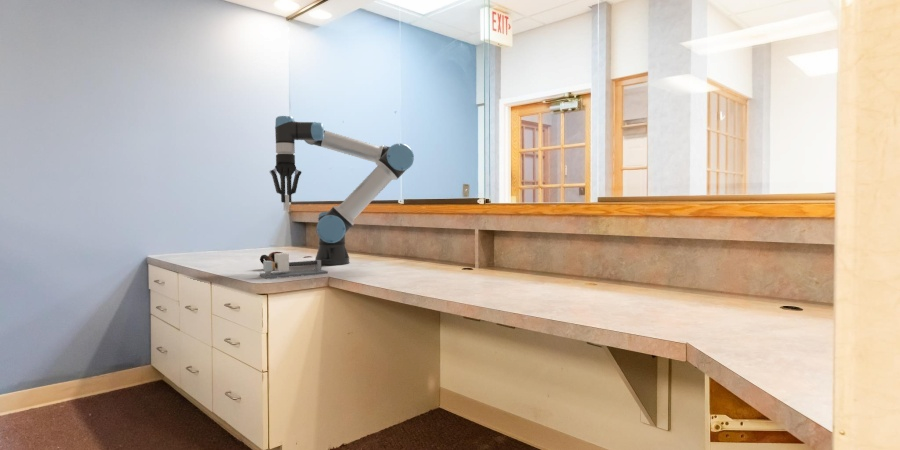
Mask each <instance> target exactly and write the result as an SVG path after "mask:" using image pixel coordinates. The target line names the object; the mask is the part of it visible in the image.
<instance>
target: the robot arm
mask: <svg viewBox="0 0 900 450" xmlns="http://www.w3.org/2000/svg"><path fill="white" fill-rule="evenodd" d="M324 128H325V127H324V124H323V123H322V122H317V121H314V122H313V121H312V122H311V121H310V122H309V121H295V118H294V117H293V116H291V115H289V116H287V115H279V116H277V117H275V126H274V129H275V130H274V131H275V133H274V134H275V153H276V155H275V166H274V168H273V169H270V170H269V174H270V175H271V177H272V180H273V185H274V189H275V191H276V193H277V194H279V195H280V199H281V200H280V201H281V202H280V203H283V211H287V212H288V211H290V203H292V195H294V194H296V192H297V188H298V183H299V179H300V176H301V174H302V173H303V172H302V171H301V170H298V169H297V166H296V155H295V153H296V152H295V151H296V149H295V148H296V147H295V144H296V143H295V141H304V142H305V144H308V145H311V146H313V145H314V146H317V147H322V148H324V149H327V150H332V151H334V152H338V153H341V154H344V155H348V156H351V157H355V158H359V159H362V160H365V161H369V162H372V163H375V165H376V167H375V168H374V169H373V170H372V171H371V172H370V173H369V174H368V175H367V176H366V177H365V179H364V180H362V182H361V183H360V184H358V186H357V187H356V188H355V189H354V190H353V191H352V192H351V193H350V194H349V195H347V197H346V198H345V199H344V200H343V201H342V202H341V203H340V204H339V205H336V206H335V205H334V206H333V207H331V208H330V210H329V211H323V212H319V214H318V218H317V219H318V222H317V224H316V234H317V236H318V249H317V253H316V255H315V259H314V261H315V260H321V266H334V265H335V266H336V265H337V266H338V265H339V266H340V265H346V264H349V263H350V256H349V253H348V251H347V250H348V249H347V247H346V234H347V233H348V232H349V231H350V229H352V228H353V226H354V225H355V223H354V222H355V221H354V220H355V219H357V217H358V216H359V215H360V214H361V213H362V212H363V211H364V210H365V209H366V208H367V207H368V205H370V204H371V202H373V201H374V199H375V198H376V197H377V196H378V195H379V194H380V193H381V192H382V191H383V190H384V189H385V188H386V187H387V185H389V183H391V181H393V180H394V181H395V180H398V179H400V177H401V176H402V175H403V174H404V173H405V172H406V171H407V170H409V169H410V168H411V167H412V166H413V164H414V160H415V157H414V156H415V155H414V152H413V150H412V148H411V147H410V146H409V145H407V144H405V143H398V142H397V143H394V144H392V145H391V146H386V145H384V144H381V145H380V146H378V145H376V144H371V143H368V142H364V141H362V140H358V139H355V138H353V137H349V136H348V137H347V136H346V135H342V134H338V133H335V132H333V131H332V132H331V131H329V130H328V131H327V130H324ZM277 174H278V175H279V178H280V183H279V179H278V175H277ZM293 174H294V178H293V176H292V175H293ZM292 179H293V181H292ZM292 182H293V183H292Z"/></svg>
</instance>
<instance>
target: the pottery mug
mask: <svg viewBox="0 0 900 450" xmlns="http://www.w3.org/2000/svg"><path fill="white" fill-rule="evenodd" d="M276 253H283V252H281V251H272V252H270V253H269V254H268V255H267V254H262V255H261V256H260V258H259V260H260V263H261V264H262V265H263V261H273V262H274V263H275V256H274V254H276Z"/></svg>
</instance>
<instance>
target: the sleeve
mask: <svg viewBox="0 0 900 450" xmlns="http://www.w3.org/2000/svg"><path fill="white" fill-rule="evenodd" d="M274 256H275V263H277V266H278V267H277V268H275V269H274V271H275V272H285V271H290V267H289V262H290V254H289V253H288V252H287V253H286V252H282V253H276V254H274Z"/></svg>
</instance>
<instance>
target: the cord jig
mask: <svg viewBox="0 0 900 450" xmlns="http://www.w3.org/2000/svg"><path fill="white" fill-rule="evenodd" d="M262 265H263V267H262V268H263V273H259V276H260V277H263V278H264V277H265V279H267V278H270V279H278V278H277V277H281V278H289V276H293V277H302V276H301V275H304V276H314V275H315V274H316V275H326V274H328V273H329V271H328V270H324V269H322V265H321V260H315V259H314V260H304V261H289V268H290V267H301V266H303V267H305V266H313V265H314V268H313V269H312V268H310V269H301V270H289V271H275V268H277V267H278V266H277V263H274V262H273V261H263V264H262Z"/></svg>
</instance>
